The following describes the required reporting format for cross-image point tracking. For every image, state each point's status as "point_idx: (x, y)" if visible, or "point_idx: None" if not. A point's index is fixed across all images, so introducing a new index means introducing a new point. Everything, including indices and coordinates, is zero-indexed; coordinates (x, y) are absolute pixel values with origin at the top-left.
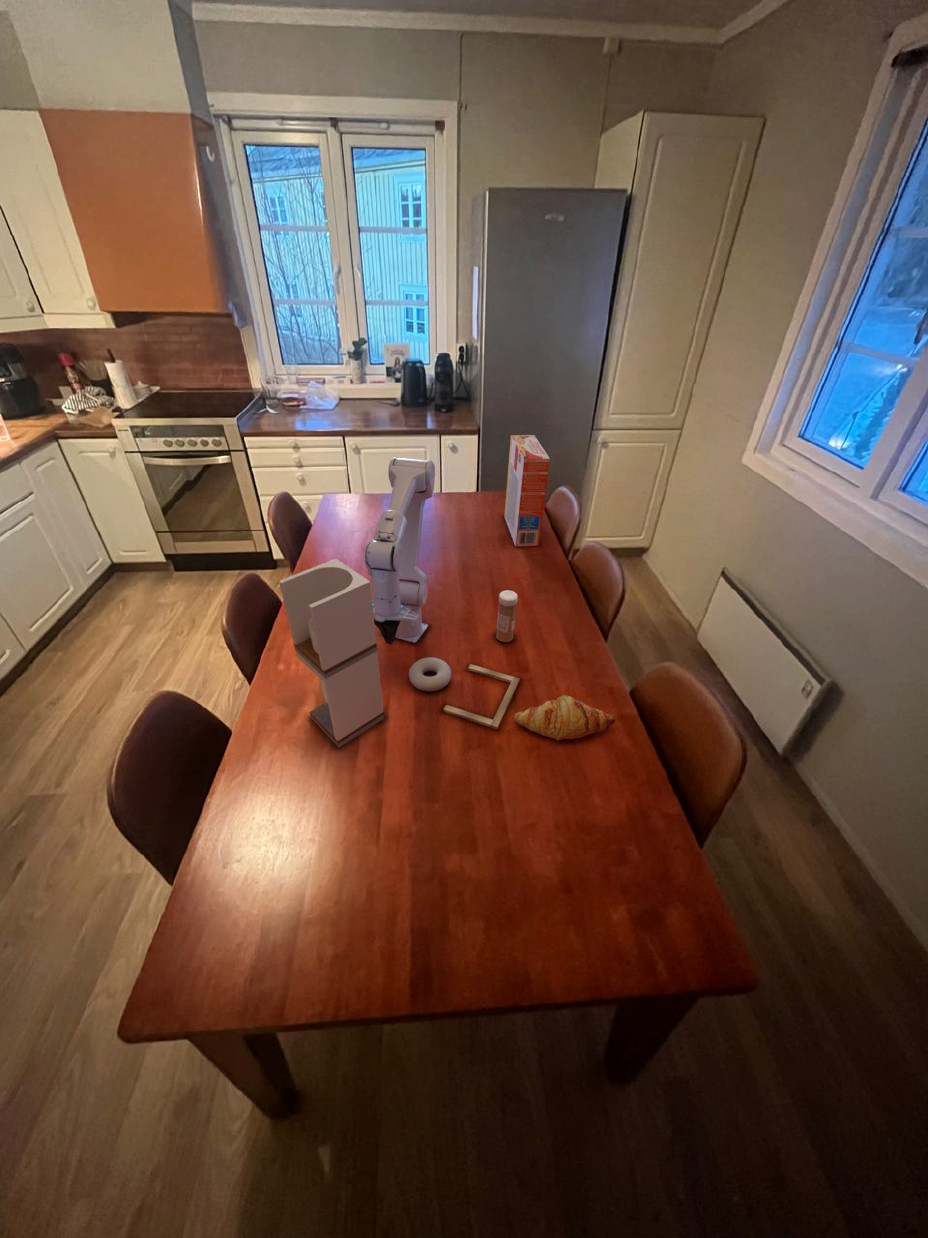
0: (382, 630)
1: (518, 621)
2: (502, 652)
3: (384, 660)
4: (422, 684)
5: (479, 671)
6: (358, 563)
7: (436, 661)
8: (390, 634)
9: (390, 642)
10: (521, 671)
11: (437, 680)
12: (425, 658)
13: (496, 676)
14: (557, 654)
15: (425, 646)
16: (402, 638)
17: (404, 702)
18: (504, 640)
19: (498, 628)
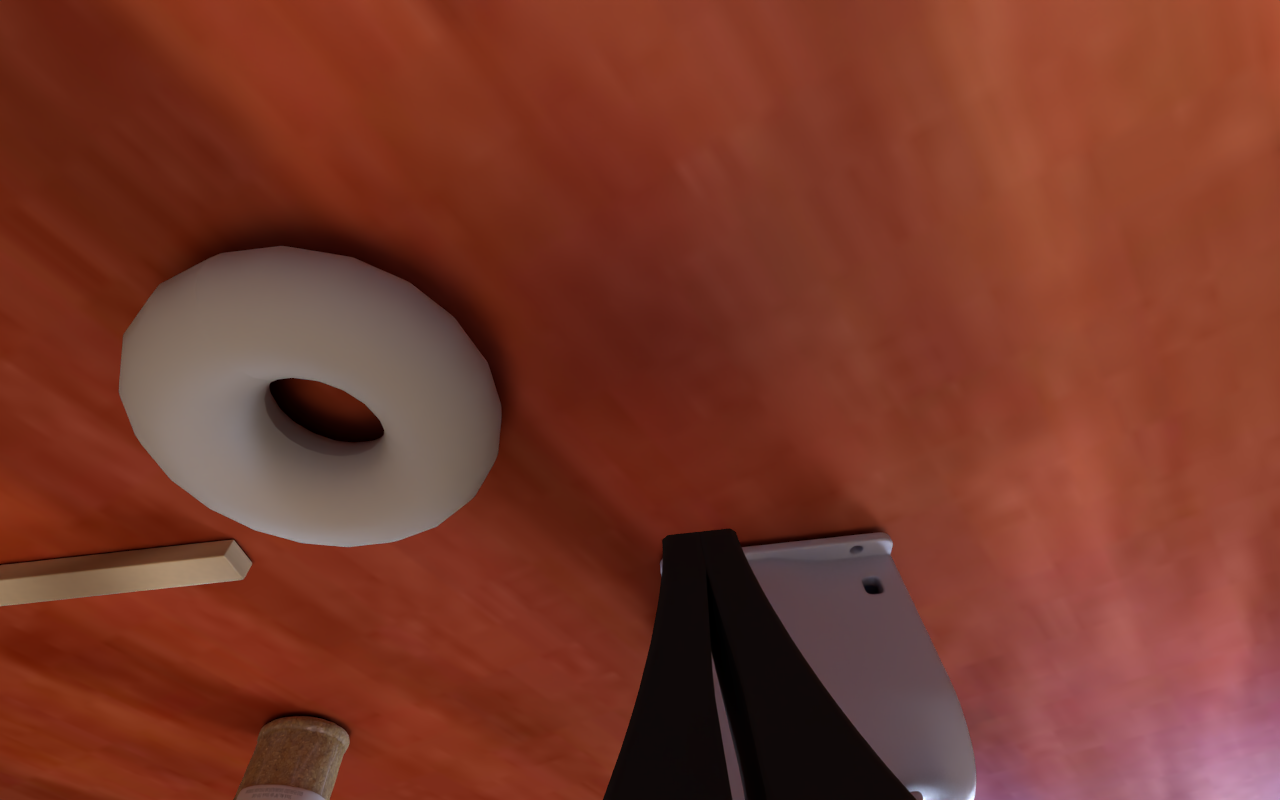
0: (796, 748)
1: (345, 791)
2: (225, 678)
3: (761, 370)
4: (213, 285)
5: (149, 561)
6: (1185, 754)
7: (338, 525)
8: (641, 718)
9: (665, 560)
10: (22, 639)
11: (135, 383)
12: (431, 512)
13: (35, 574)
14: (36, 750)
15: (592, 562)
16: (749, 554)
17: (278, 42)
18: (272, 729)
19: (291, 794)
